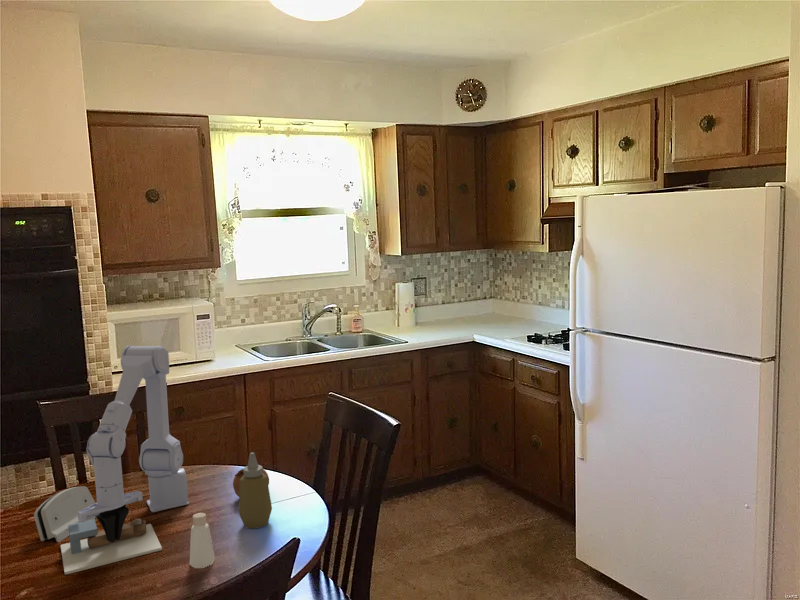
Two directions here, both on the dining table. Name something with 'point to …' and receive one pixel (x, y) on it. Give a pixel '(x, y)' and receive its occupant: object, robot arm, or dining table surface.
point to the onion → (237, 481)
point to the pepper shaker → (201, 543)
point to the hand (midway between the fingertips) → (114, 540)
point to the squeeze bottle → (254, 495)
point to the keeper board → (103, 547)
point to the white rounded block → (61, 512)
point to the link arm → (127, 531)
